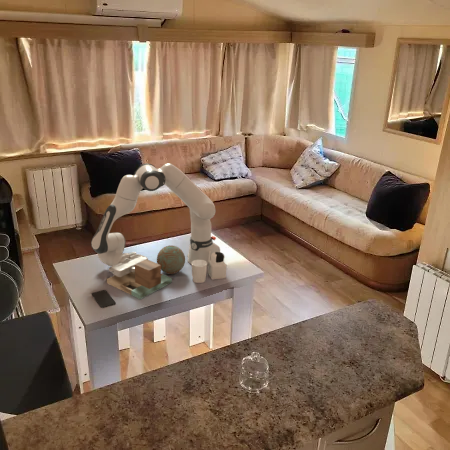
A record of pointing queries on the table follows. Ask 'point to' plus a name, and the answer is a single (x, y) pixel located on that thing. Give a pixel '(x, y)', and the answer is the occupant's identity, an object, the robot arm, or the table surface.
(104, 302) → the phone
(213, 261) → the container
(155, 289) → the board
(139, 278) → the walnut block
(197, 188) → the robot arm
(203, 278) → the white cup
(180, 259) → the decorative sphere
